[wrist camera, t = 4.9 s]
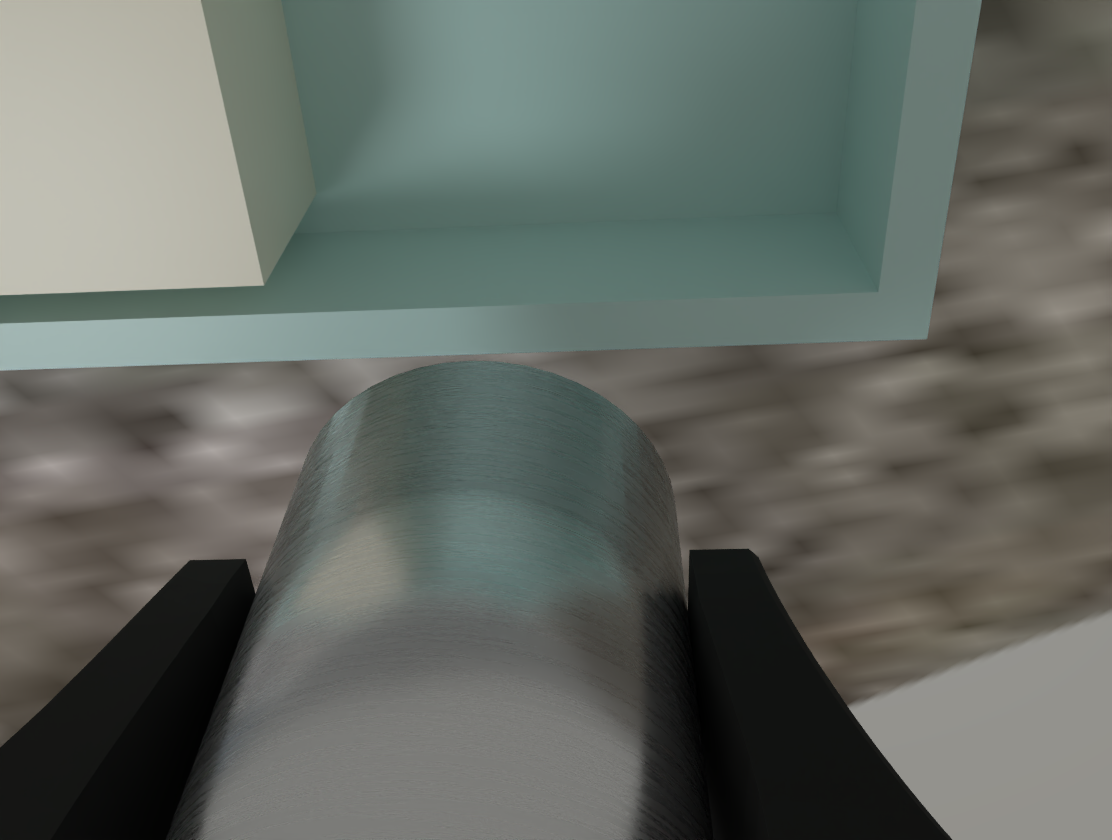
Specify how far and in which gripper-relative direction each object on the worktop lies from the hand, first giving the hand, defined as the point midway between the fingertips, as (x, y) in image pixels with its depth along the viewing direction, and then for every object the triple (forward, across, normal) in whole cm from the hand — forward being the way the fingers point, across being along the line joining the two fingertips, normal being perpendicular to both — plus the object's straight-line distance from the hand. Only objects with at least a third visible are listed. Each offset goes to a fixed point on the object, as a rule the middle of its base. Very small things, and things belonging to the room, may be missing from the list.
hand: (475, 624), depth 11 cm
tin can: (+2, 0, 0) cm, 2 cm away
